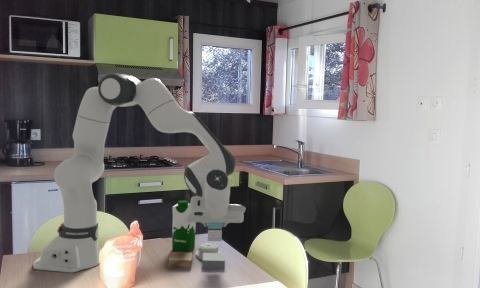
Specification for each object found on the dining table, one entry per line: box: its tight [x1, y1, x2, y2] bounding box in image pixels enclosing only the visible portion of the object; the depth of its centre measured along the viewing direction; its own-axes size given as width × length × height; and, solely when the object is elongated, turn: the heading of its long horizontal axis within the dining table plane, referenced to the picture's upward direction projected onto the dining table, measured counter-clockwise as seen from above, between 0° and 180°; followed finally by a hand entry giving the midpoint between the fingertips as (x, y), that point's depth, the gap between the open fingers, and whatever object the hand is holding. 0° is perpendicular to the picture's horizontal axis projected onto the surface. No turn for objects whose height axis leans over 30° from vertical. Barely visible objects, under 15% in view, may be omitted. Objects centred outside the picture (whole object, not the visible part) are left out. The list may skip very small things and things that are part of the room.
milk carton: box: [171, 199, 197, 253], centre depth 175 cm, size 9×9×20 cm
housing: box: [207, 222, 223, 242], centre depth 158 cm, size 5×4×9 cm
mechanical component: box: [194, 242, 222, 261], centre depth 168 cm, size 10×4×10 cm
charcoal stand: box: [201, 252, 226, 270], centre depth 159 cm, size 8×8×3 cm
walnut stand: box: [168, 251, 193, 269], centre depth 158 cm, size 8×8×3 cm
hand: (214, 224), depth 159 cm, fingers closed on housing, 5 cm apart
